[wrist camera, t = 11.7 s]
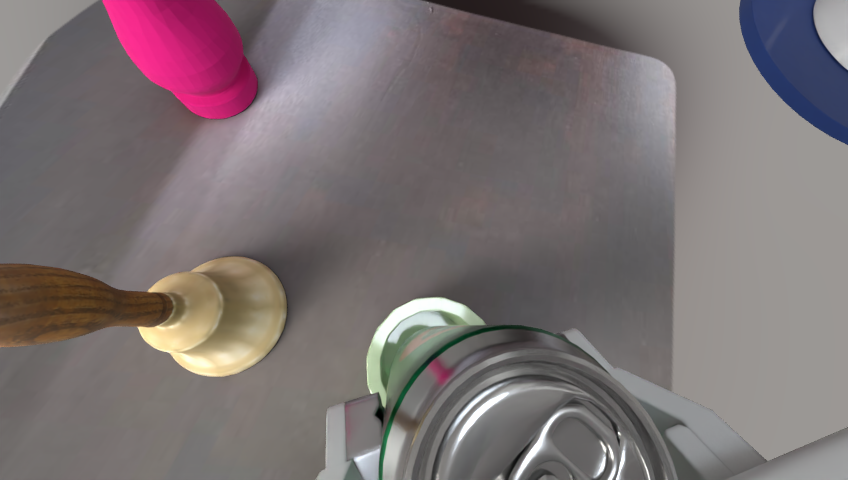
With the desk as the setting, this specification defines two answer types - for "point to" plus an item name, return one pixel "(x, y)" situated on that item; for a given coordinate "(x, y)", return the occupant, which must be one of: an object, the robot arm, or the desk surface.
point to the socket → (410, 333)
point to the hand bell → (153, 311)
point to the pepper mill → (187, 52)
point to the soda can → (512, 411)
